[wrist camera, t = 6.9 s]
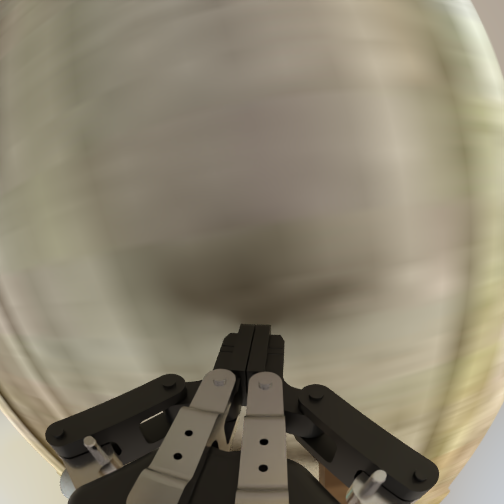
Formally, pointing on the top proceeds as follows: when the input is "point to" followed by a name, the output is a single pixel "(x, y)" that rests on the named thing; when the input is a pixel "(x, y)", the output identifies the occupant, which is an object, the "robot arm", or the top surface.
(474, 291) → the top surface
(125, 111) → the top surface
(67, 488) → the ceramic mug
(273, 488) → the robot arm
